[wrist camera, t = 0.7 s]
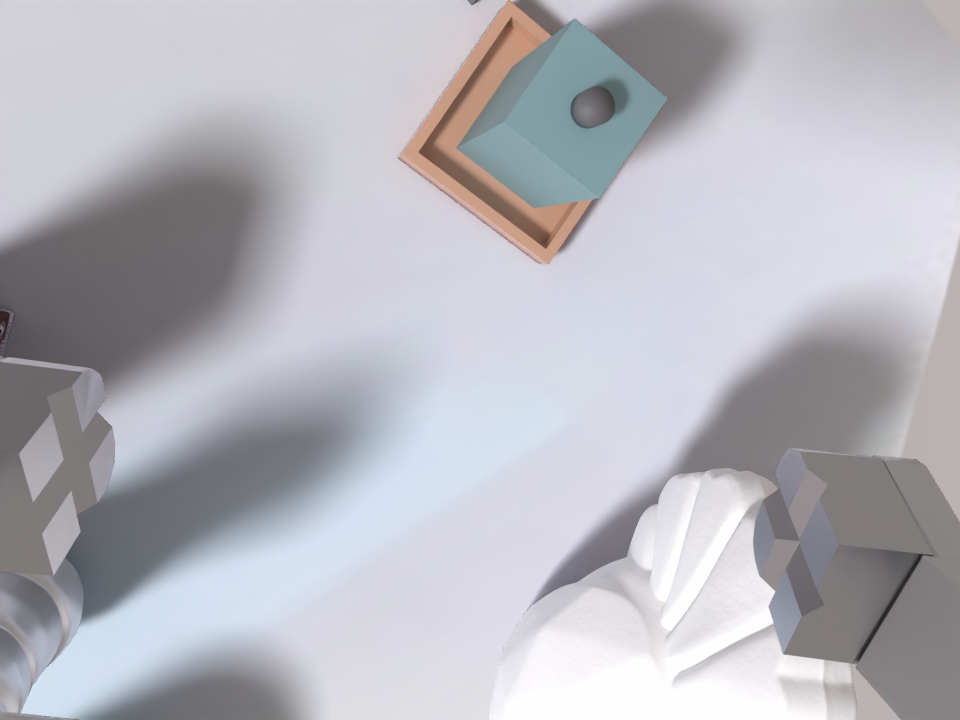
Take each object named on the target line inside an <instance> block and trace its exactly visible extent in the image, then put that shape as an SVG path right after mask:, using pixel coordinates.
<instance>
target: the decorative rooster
mask: <svg viewBox="0 0 960 720" xmlns="http://www.w3.org/2000/svg"><path fill="white" fill-rule="evenodd" d="M777 490H778V488H777V487H776V486H775V485H774V484H773V483H772V482H771V481H770V480H768V479H767V478H764V477H762V476H759V475H757V474H755V473H753V472H750V471H739V472H738V471H736V470H734V469H732V468H720V469H710V470H708V471H704V472H694V473H685V474H677V475H674V476H673V477H672V478H670V479H669V481H668V482H667V483H666V485H665V487H664V488H663V490H662V492H661V494H660V497H659V502H658V504H654V505H652V506H650V507H648V508H647V509H646V510H645V511H644V513H643V514H642V516H641V518H640V520H639V522H638V524H637V527H636V529H635V532H634V535H633V538H632V540H631V544H630V547H629V551H628V554H627V557H626V558H623V559H620V560H617V561H614V562H611V563H609V564H606V565H604V566H602V567H600V568H599V569H597V570H595V571H593V572H592V573H590V574H588V575H587V576H585V577H584V578H582V579H581V580H580V581H578V582H577V583H572V584H568V585H565V586H562V587H560V588H558V589H556V590H554V591H552V592H551V593H549V594H548V595H546V596H544V597H543V598H542V599H540V600H539V601H537V602H536V603H535V604H533V605H532V606H531V607H530V608H529V609H528V610H527V611H526V612H525V613H524V615H523V616H522V618H521V619H520V621H519V622H518V624H517V625H516V627H515V629H514V630H513V632H512V634H511V635H510V637H509V639H508V641H507V642H506V644H505V646H504V648H503V649H502V651H501V654H500V657H499V662H498V667H497V672H496V677H495V683H494V687H493V693H492V698H491V704H490V711H489V720H856V717H857V700H856V694H855V690H854V684H853V673H852V665H851V663H843V662H836V661H829V660H821V659H814V658H806V657H799V656H792V655H784V654H783V653H782V649H781V646H780V643H779V640H778V636H777V633H776V630H775V627H774V623H773V620H772V617H771V613H770V610H769V607H768V606H769V604H770V602H771V600H772V598H773V595H774V593H775V590H773V589H772V588H771V587H770V586H769V585H768V584H767V583H766V582H765V581H764V580H763V579H762V578H761V577H760V576H759V573H758V569H757V566H756V562H755V557H754V548H753V537H754V528H755V520H756V517H757V514H758V512H759V509H760V506H761V503H762V501H763V499H765V498H766V497H768V496H769V495H771V494H772V493H774V492H775V491H777Z"/></svg>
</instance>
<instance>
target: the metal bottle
mask: <svg viewBox="0 0 960 720" xmlns="http://www.w3.org/2000/svg"><path fill="white" fill-rule="evenodd" d="M83 601H84V595H83V586H82V583H81V580H80V577H79V575H78V573H77V571H76V569H75V568H74V566H73V565H72V564H71V563H70V562H69V560H68V559H67V558H66V557H65V558H64V560H63V561H62V563H61V564H60V566H59V568H58V569H57V571H56V573H55V574H54V576H52V575H39V574H27V573H15V572H2V571H0V711H2V712H12V713H21V711H22V709H23V707H24V704H25V702H26V699H27V697H28V695H29V693H30V690H31V688H32V686H33V685H34V683H35V682H36V681H37V679H38V678H39V677H40V675H41V674H42V672H43V671H44V670H45V668H46V667H47V666H49V665H50V664H51V663H52V662H53V661H54V660H55V659H56V658H57V657H58V656H59V655H60V654H61V653H62V652H63V650H64V649H65V648H66V647H67V646H68V645H69V644H70V642H71V640H72V639H73V637H74V636H75V634H76V633H77V630H78V627H79V625H80V622H81V617H82V610H83Z"/></svg>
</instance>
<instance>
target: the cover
mask: <svg viewBox="0 0 960 720" xmlns="http://www.w3.org/2000/svg"><path fill="white" fill-rule="evenodd" d="M667 99H668V98H667V97H666V96H664V95H663V94H662V93H661V92H660V91H659V90H657V89H656V88H655V87H654V86H653V85H652V84H650V83H649V82H648V81H647V80H646V79H645V78H644V77H642V76H641V75H640V74H639V73H638V72H637V71H635V70H634V69H633V68H632V67H631V66H630V65H629V64H627V63H626V62H625V61H624V60H623V59H622V58H620V57H619V56H618V55H617V54H616V53H615V52H613V51H612V50H611V49H610V48H609V47H608V46H607V45H605V44H604V43H603V42H602V41H601V40H600V39H598V38H597V37H596V36H595V35H594V34H593V33H592V32H590V31H589V30H588V29H587V28H586V27H585V26H583V25H582V24H581V23H580V22H579V21H578V20H577V19H573V20H572V21H571V22H569V23H568V24H567V25H566V26H564V27H563V28H562V29H560V30H559V31H558V32H556V33H555V34H554V35H553V36H551V37H550V38H549V39H547V40H546V41H545V42H543V43H542V44H541V45H540V46H538V47H537V48H536V49H534V50H533V51H532V52H531V53H529V54H528V55H527V56H525V57H524V58H523V59H521V60H520V61H519V62H518V63H516V64H515V65H514V66H512V68H511V69H510V71H509V72H508V73H507V75H506V76H505V78H504V79H503V81H502V82H501V84H500V85H499V87H498V88H497V89H496V91H495V92H494V94H493V95H492V97H491V98H490V100H489V101H488V103H487V104H486V105H485V107H484V108H483V110H482V111H481V113H480V114H479V116H478V117H477V119H476V120H475V122H474V123H473V124H472V126H471V127H470V129H469V130H468V132H467V133H466V135H465V136H464V138H463V139H462V140H461V142H460V143H459V145H458V146H457V148H456V149H457V150H459V151H460V152H461V153H462V154H464V155H465V156H466V157H468V158H469V159H470V160H472V161H473V162H474V163H475V164H477V165H478V166H479V167H481V168H482V169H483V170H485V171H486V172H487V173H488V174H490V175H491V176H492V177H494V178H495V179H496V180H498V181H499V182H500V183H501V184H503V185H504V186H505V187H507V188H508V189H509V190H511V191H512V192H513V193H514V194H516V195H517V196H518V197H520V198H521V199H522V200H524V201H525V202H526V203H527V204H529V205H530V206H531V207H533V208H539V207H545V206H552V205H559V204H566V203H572V202H579V201H586V200H593V199H599V198H600V197H601V196H602V194H603V193H604V191H605V190H606V188H607V187H608V185H609V184H610V182H611V181H612V180H613V178H614V177H615V175H616V174H617V172H618V171H619V169H620V168H621V166H622V165H623V163H624V162H625V160H626V159H627V158H628V156H629V155H630V153H631V152H632V150H633V149H634V147H635V146H636V144H637V143H638V141H639V140H640V138H641V137H642V135H643V134H644V133H645V131H646V130H647V128H648V127H649V125H650V124H651V122H652V121H653V119H654V118H655V116H656V115H657V113H658V112H659V110H660V109H661V108H662V106H663V105H664V103H665V102H666V100H667Z"/></svg>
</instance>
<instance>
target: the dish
mask: <svg viewBox="0 0 960 720" xmlns="http://www.w3.org/2000/svg"><path fill="white" fill-rule="evenodd" d="M550 37H551V35H550V34H549V33H548V32H546V31H545V30H544V29H543V28H542V27H541V26H539V25H538V24H537V23H536V22H535V21H533V20H532V19H531V18H530V17H529V16H528V15H526V14H525V13H524V12H523V11H522V10H520V9H519V8H518V7H517V6H516V5H515V4H513V3H512V2H511V1H510V0H508V1H507V3H506V4H505V5H504V6H503V7H502V8H501V9H500V10H499V12H498V13H497V15H496V16H495V18H494V19H493V20H492V22H491V23H490V25H489V26H488V28H487V29H486V31H485V32H484V34H483V35H482V36H481V38H480V39H479V41H478V42H477V44H476V45H475V47H474V48H473V50H472V51H471V52H470V54H469V55H468V57H467V58H466V60H465V61H464V63H463V64H462V66H461V67H460V68H459V70H458V71H457V73H456V74H455V76H454V77H453V79H452V80H451V81H450V83H449V84H448V86H447V87H446V89H445V90H444V92H443V93H442V95H441V96H440V97H439V99H438V100H437V102H436V103H435V105H434V106H433V108H432V109H431V111H430V112H429V113H428V115H427V116H426V118H425V119H424V121H423V122H422V124H421V125H420V127H419V128H418V129H417V131H416V132H415V134H414V135H413V137H412V138H411V140H410V141H409V143H408V144H407V145H406V147H405V148H404V150H403V151H402V153H401V154H400V156H399V157H398V159H400V160H401V161H402V162H404V163H405V164H406V165H408V166H409V167H410V168H412V169H413V170H414V171H416V172H417V173H418V174H420V175H421V176H422V177H424V178H425V179H426V180H428V181H429V182H430V183H432V184H433V185H434V186H436V187H437V188H438V189H440V190H441V191H442V192H444V193H445V194H446V195H448V196H449V197H450V198H452V199H453V200H454V201H456V202H457V203H458V204H460V205H461V206H462V207H464V208H465V209H466V210H468V211H469V212H470V213H472V214H473V215H474V216H476V217H477V218H478V219H480V220H481V221H482V222H484V223H485V224H486V225H488V226H489V227H491V228H492V229H493V230H495V231H496V232H497V233H499V234H500V235H501V236H503V237H504V238H505V239H507V240H508V241H509V242H511V243H512V244H513V245H515V246H516V247H517V248H519V249H520V250H521V251H523V252H524V253H525V254H527V255H528V256H529V257H531V258H532V259H533V260H535V261H536V262H537V263H539V264H549V263H550V261H551V260H552V258H553V257H554V256H555V254H556V253H557V251H558V250H559V248H560V247H561V245H562V244H563V242H564V241H565V239H566V238H567V236H568V235H569V234H570V232H571V231H572V229H573V228H574V226H575V225H576V223H577V222H578V220H579V219H580V217H581V216H582V214H583V213H584V211H585V210H586V209H587V207H588V206H589V204H590V203H591V201H592V200H586V201H579V202H572V203H566V204H559V205H552V206H545V207H539V208H533V207H531V206H530V205H529V204H527V203H526V202H525V201H524V200H522V199H521V198H520V197H518V196H517V195H516V194H514V193H513V192H512V191H511V190H509V189H508V188H507V187H505V186H504V185H503V184H501V183H500V182H499V181H498V180H496V179H495V178H494V177H492V176H491V175H490V174H488V173H487V172H486V171H485V170H483V169H482V168H481V167H479V166H478V165H477V164H475V163H474V162H473V161H472V160H470V159H469V158H468V157H466V156H465V155H464V154H462V153H461V152H460V151H459V150H457V149H456V148H457V146H458V145H459V143H460V142H461V140H462V139H463V138H464V136H465V135H466V133H467V132H468V130H469V129H470V127H471V126H472V124H473V123H474V122H475V120H476V119H477V117H478V116H479V114H480V113H481V111H482V110H483V108H484V107H485V105H486V104H487V103H488V101H489V100H490V98H491V97H492V95H493V94H494V92H495V91H496V89H497V88H498V87H499V85H500V84H501V82H502V81H503V79H504V78H505V76H506V75H507V73H508V72H509V71H510V69H511V68H512V66H514V65H515V64H516V63H518V62H519V61H520V60H521V59H523V58H524V57H525V56H527V55H528V54H529V53H531V52H532V51H533V50H534V49H536V48H537V47H538V46H540V45H541V44H542V43H543V42H545V41H546V40H547V39H549V38H550Z"/></svg>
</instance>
